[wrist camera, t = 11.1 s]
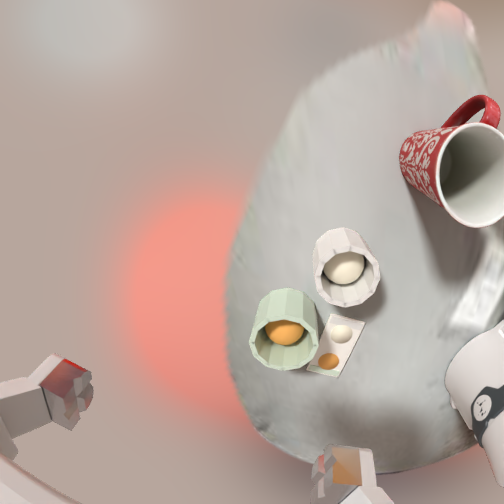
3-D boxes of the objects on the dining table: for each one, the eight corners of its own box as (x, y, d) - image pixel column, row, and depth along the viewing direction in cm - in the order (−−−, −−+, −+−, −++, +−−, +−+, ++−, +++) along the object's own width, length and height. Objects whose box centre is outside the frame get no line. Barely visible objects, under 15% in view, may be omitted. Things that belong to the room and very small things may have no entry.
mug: (438, 211, 35) (492, 246, 23) (379, 176, 35) (418, 196, 22) (477, 125, 31) (542, 127, 18) (420, 86, 31) (473, 65, 18)
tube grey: (375, 237, 38) (388, 256, 31) (356, 286, 40) (365, 313, 34) (322, 221, 38) (327, 237, 32) (306, 272, 40) (306, 297, 34)
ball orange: (310, 305, 42) (309, 325, 37) (298, 335, 43) (296, 357, 39) (273, 294, 42) (268, 313, 37) (264, 325, 44) (257, 346, 39)
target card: (364, 321, 41) (365, 323, 41) (337, 375, 45) (338, 377, 44) (330, 312, 42) (331, 315, 41) (306, 368, 45) (306, 370, 45)
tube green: (324, 297, 41) (327, 325, 35) (305, 344, 44) (304, 376, 38) (265, 281, 41) (259, 307, 35) (251, 330, 44) (243, 360, 38)
